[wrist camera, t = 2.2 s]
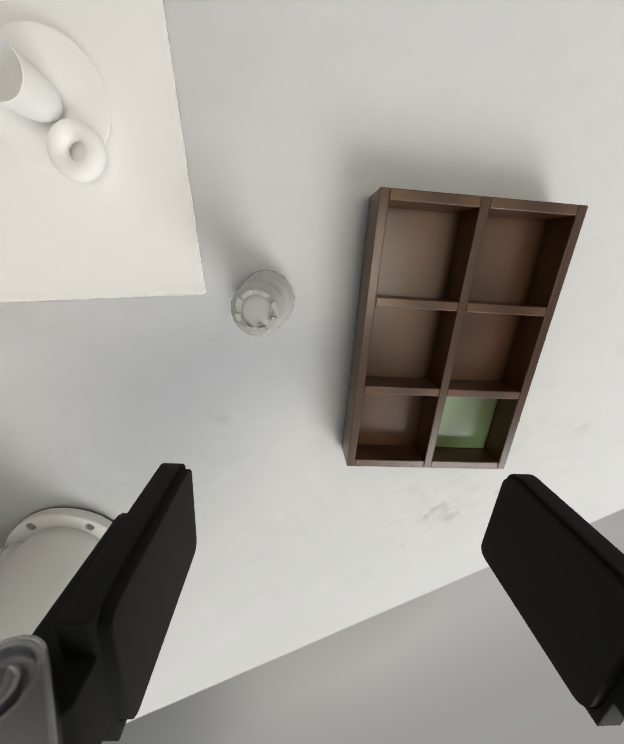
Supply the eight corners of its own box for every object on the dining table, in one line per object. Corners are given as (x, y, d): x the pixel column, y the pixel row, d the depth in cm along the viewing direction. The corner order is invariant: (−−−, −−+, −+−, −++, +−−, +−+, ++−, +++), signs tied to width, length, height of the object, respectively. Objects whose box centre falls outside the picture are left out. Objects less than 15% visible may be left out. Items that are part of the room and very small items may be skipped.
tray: (341, 446, 30) (346, 465, 27) (369, 197, 23) (380, 186, 20) (484, 450, 31) (504, 469, 28) (552, 213, 24) (588, 205, 21)
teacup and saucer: (129, 186, 22) (93, 168, 18) (15, 189, 21) (-46, 172, 18) (96, 25, 19) (45, -36, 15) (-36, 26, 19) (-123, -37, 15)
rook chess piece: (236, 272, 24) (209, 275, 17) (291, 267, 24) (290, 267, 17) (245, 328, 26) (224, 352, 18) (297, 322, 26) (298, 345, 18)
